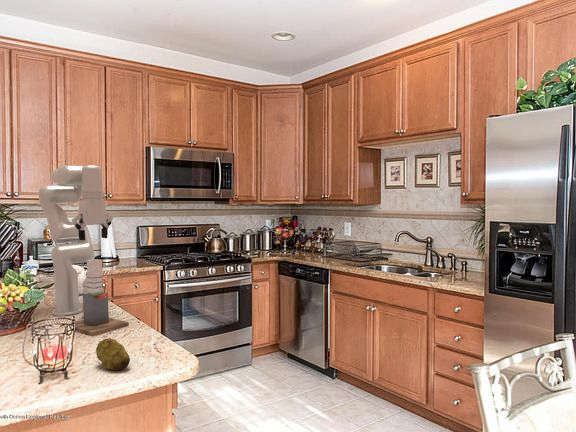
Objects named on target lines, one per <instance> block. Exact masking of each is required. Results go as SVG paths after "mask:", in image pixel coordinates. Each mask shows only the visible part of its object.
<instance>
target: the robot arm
mask: <svg viewBox="0 0 576 432" xmlns="http://www.w3.org/2000/svg"><path fill="white" fill-rule="evenodd" d="M51 181H52V182H53V183H54V184H49V185H48V184H47V185H44V186H42V187H40V188H39V190H38V201H39V205H40V207H41V210H42V211H43V212H44V214H45V216H46V219H47V224H48V229H49V233H50V237H51V240H52V241H53V242H54V243H57V244H56V245H55V246H53V247H52V249H51V260H52V264H53V265H52V266H53V271H54V273H53V274H54V296H55V297H54V298H55V302H54V303H53V306H54V307H55V308H54V310H52V311H51V315H53V316H55V317H59V316H60V317H62V316H63V317H65V316H72V315H76V314H80V313H83V307H81V306H79V305H80V304H79V295H78V274H77V271H76V270H75V269H74V268H73V267H72V265H76V264H84V263H87V260H94V259H93V258H94V256H95V253H94V248H93V242H92V239H91V235H90V231H89V227H88V226H96V225H100V226H101V229H100V232H101V233H100V234H101V235H100V237H101V238H102V239H108V232H109V231H108V229H109V228H110V226H111V224H112V222H113V220H114V218H113V216H111V215H109V214H107V207H106V203H105V200H104V199H103V198H104V197H106V193H103V170H102V167H101V166H99V165H60V166H59V167H57V168H55V169H54V170H53V171H52V173H51ZM73 203H79V205H78V212H77V216H75V217H73V218H72V219H71V221H69V218H68V213H67V212H66V210H64V208H62V207H61V206H60V205H59V204H73ZM58 243H59V244H58Z"/></svg>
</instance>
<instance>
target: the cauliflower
mask: <svg viewBox="0 0 576 432" xmlns="http://www.w3.org/2000/svg"><path fill="white" fill-rule="evenodd" d="M72 267H73V268H74V269H75V270H76V271H77V274H78V296H80V295H82V296H83V294H84V290H83V281H84V280H85V279H86V272H87V269H86V270H85V268H83V267H82V266H80V265H76V264H72Z"/></svg>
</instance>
